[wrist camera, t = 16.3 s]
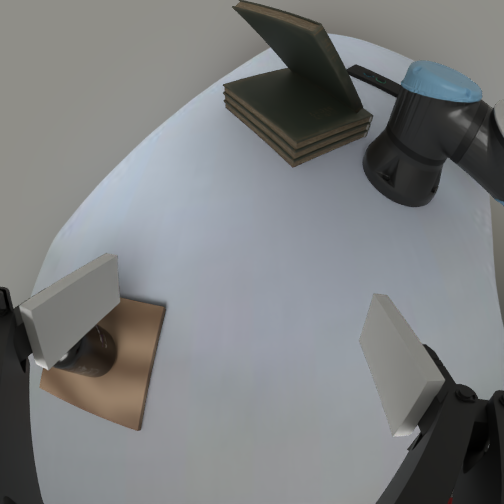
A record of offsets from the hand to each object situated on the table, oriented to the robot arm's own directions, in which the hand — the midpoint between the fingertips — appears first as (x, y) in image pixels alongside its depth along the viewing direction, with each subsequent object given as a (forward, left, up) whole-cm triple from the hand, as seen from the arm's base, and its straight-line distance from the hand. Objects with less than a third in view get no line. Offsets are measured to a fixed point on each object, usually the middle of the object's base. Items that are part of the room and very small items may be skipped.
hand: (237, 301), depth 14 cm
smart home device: (-74, +27, -22) cm, 81 cm away
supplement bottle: (+4, -18, -20) cm, 28 cm away
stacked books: (-46, +3, -22) cm, 50 cm away
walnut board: (+4, -19, -21) cm, 28 cm away
